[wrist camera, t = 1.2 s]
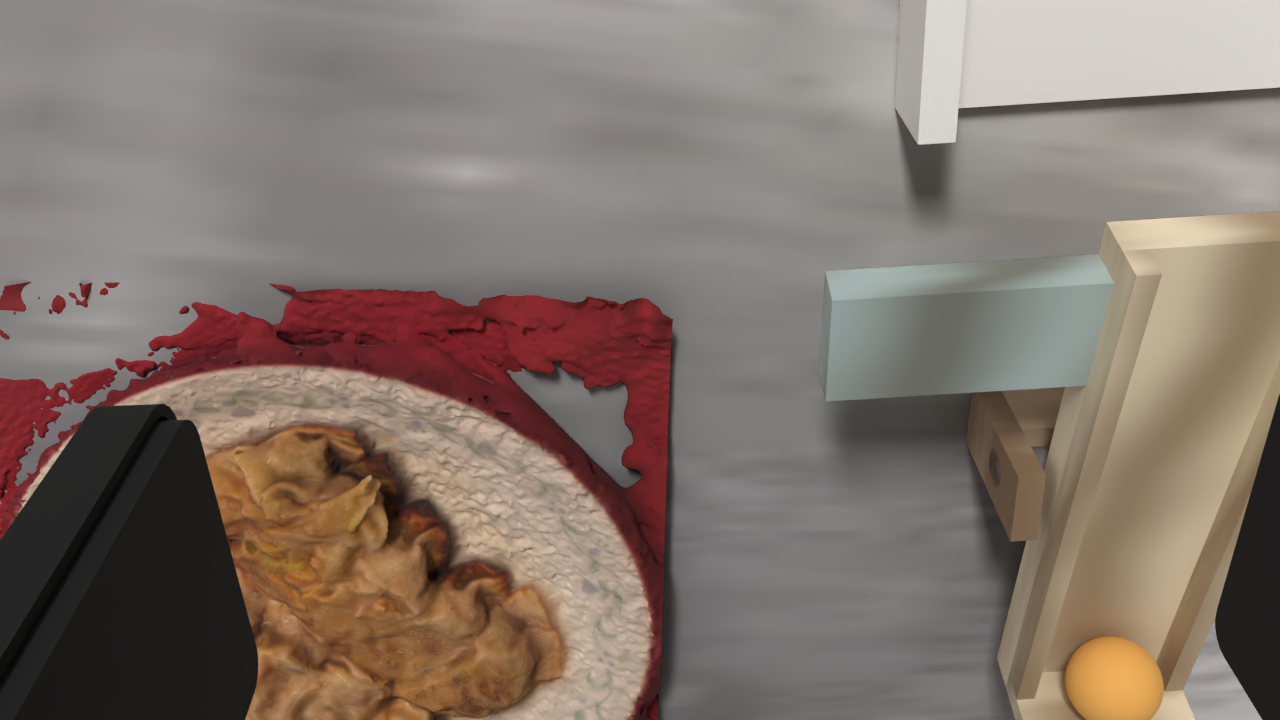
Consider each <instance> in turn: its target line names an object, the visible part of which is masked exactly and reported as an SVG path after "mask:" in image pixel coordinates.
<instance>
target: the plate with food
mask: <svg viewBox="0 0 1280 720" xmlns="http://www.w3.org/2000/svg"><path fill="white" fill-rule="evenodd" d="M29 283H31V282H27V283H22V284H16V285H10V286H5V289H4V291H3V295H2V296H1V299H0V310H13V311H22V312H24V311H25V310H26V306H25V304H24V303H23V301H22V298H21V291H22V289H23V287H24V286H25V285H27V284H29ZM118 284H119V283H105V285H106V286H107V287H109V288H115V287H117V285H118ZM79 285H80V288H81V296H82V297H84V296H85V299H84V300H83V301H82V302H81V301H79V300H78V299H77V297H76V295H75V294H74V293H69V295H70V296H71V297H72V298H75V299H76V300H77V301H76V304H77V305H82V306H84V307H87V306H88V304H87V298H88V295H89V293H90V289H91V285H92V283H89V284H87V285H83V286H82V285H81V283H80V284H79ZM270 285H272V286H274V287H276V288H278V289H281V290H284V291H288V292H290V293H291V294H293V297H292V299H291V300H290V301H289V302H288V303H287V305H286V307H285V311H284V317H283V319H282V321H281V323H280V324H278V325H271V324H270V323H269V322H267V321H265V320H263V319H260V318H255V317H252V316H249V315H247V314H246V313H244V312H240V313H239V314H238V316H237V315H235V314H233V313H231V312H228V311H226V310H224V309H222V308H220V307H217V306H215V305H207V304H201V303H198V302H195V303H193V304H192V307H193V308H194V309H195V311H196V312H197V314H198V318H197V319H196V320H195V321H194V322H193V323H192V324H191V325H189V326H188V327H187V328H186V329H185V330H184V331H183V332H182V333H179V334H176V335H172V336H159V337H156V338H154V339H153V340H152V341H150V343H149V346H150V348H151V350H152V351H157V350H158V349H159V348H160V347H165V348H169V347H171V348H175V347H179V348H182V350H180V351H179V348H178V349H177V348H176V349H177V350H178V351H179V352H178V353H176V352H172V353H173V356H174V357H175V358H176V359H173V357H172V358H171V360H170V362H171V363H173V364H172V365H168V364H167V363H166V362H161V363H160V364H159V365H157V364H156V363H155V362H154V361H147V360H143V361H133V362H127V361H124V360H122V359H119V358H117V359H116V361H115V362H116V364H117V367H118V369H119V370H121V369H122V368H123V367H126V368H127V369H128V370H129V371H131V372H135V373H136V374H137V375H138V376H141V377H143V376H145V374H146V373H148V372H150V371H152V370H155V369H157V368H159V367H161V366H162V368H161V369H160V371H155V372H154V373H152V375H151V376H150V377H148V378H146V379H143V380H140V379H132V380H130V384H129V386H128V388H127V389H125V390H124V391H118V390H111V391H109V393H108V395H107V400H106V401H104V402H100V403H99V404H98V405H97V406H86V408H88V409H90V411H89V413H90V412H91V411H92V410H93V409H94V408H96V407H100V406H120V405H147V404H165V405H167V406H169V407H170V408H171V409H172V411H173V412H174V414H175V415H176V418H177V420H190V421H192V422H193V423H194V425H195V426H196V427H197V430H198V433H199V436H200V439H201V443H202V447H203V450H204V454H205V458H206V461H207V465H208V469H209V472H210V476H211V480H212V484H213V487H214V491H215V495H216V498H217V502H218V506H219V509H220V513H221V517H222V521H223V524H224V528H225V532H226V535H227V539H228V543H229V547H230V550H231V554H232V558H233V561H234V565H235V569H236V572H237V576H238V580H239V584H240V587H241V591H242V595H243V598H244V602H245V606H246V609H247V613H248V617H249V621H250V624H251V628H252V632H253V635H254V639H255V643H256V647H257V652H258V678H257V685H256V689H255V692H254V696H253V698H252V701H251V704H250V707H249V710H248V713H247V716H246V719H245V720H658V695H659V691H660V673H661V651H662V624H663V593H664V542H665V515H666V485H667V452H668V416H669V390H670V361H671V340H672V322H673V320H672V319H671V318H669V317H668V316H665V315H663V314H662V312H661V310H660V309H659V307H658V306H655V305H654V304H652V303H651V302H650V301H649V300H647V299H643V298H640V299H636V300H630V301H628V302H626V303H624V304H619V303H617V302H613V301H607V300H604V299H595V298H591V297H586V299H585V300H584V301H582V302H577V303H572V302H566V301H561V300H556V299H548V298H544V297H540V296H531V295H525V296H506V295H500V296H496V297H491V298H484V299H482V300H481V301H479V305H478V306H463V305H461V304H459V303H457V302H456V301H454V300H452V299H447V298H443V297H440V296H439V295H437V294H436V293H435V291H429V292H414V291H406V292H402V291H397V290H394V291H388V290H382V289H379V290H373V289H371V290H347V291H344V290H342V289H333V290H315V291H306V292H296V290H295V289H294V288H293V287H290V286H284V285H275V284H270ZM100 294H101V295H106V294H108V290H107V289H106V288H103V289H102V290H101V291H100ZM39 298H40V297H39ZM39 298H38V300H39ZM65 305H66V303H65V300H64V298H62V297H61V296H59V295H57V296H56V297H55V298H54V300H53V303H52V310H53V311H54V312H57V314H59V313H61V312H62V311H63V309H64V308H65V307H66V306H65ZM52 310H51V309H49V313H50V314H52ZM187 311H188V307H186V306H184V307H183V308H182V309H181V310H180V312H179V313H186V312H187ZM13 314H16V313H15V312H14V313H13ZM485 319H492V321H490V322H488V323H485V322H484V320H485ZM470 328H472V329H470ZM449 330H450V331H451V332H453V333H456V334H450V333H449ZM0 335H1V336H2V337H3V338H8V336H7V335H6V334H5V333H3V332H2V330H0ZM153 354H154V352H150V353H149V354H148V356H152V355H153ZM553 361H558V362H560V363H561V367H562V368H563V370H564V371H566V372H568V373H572V374H575V375H579V376H580V377H582V378H583V379H584V387H585V388H586V389H591V388H594V387H596V386H602V387H608V386H610V385H614V384H616V383H618V382H622V383H624V384H625V386H626V388H627V392H628V401H627V405H626V408H625V411H624V420H625V425H626V426H627V427H628V428H629V429H630V430H631V432H632V436H633V444H632V445H630V446H628V447H627V448H626V449H625V450H624V452H623V455H622V465H623V466H624V467H627V468H630V469H635V470H638V471H639V472H640V473H641V474H642V478H641V479H640V480H639V481H638V482H636V483H635V484H633V485H632V486H630V487H629V488H624V487H621V486H620V485H618V484H617V483H615V482H614V480H613V479H612V478H611V477H610V476H609V475H608V474H607V473H606V472H605V471H604V470H603V469H602V468H601V467H600V466H599V465H598V464H597V463H596V462H594V461H593V460H592V459H591V458H590V457H589V456H588V455H587V454H586V453H585V452H584V450H583V449H582V448H581V447H580V446H579V445H578V444H577V443H576V442H575V441H574V440H573V439H572V438H571V437H570V436H569V435H568V434H567V433H566V432H565V431H564V430H563V429H562V428H561V427H560V426H559V425H558V424H557V423H556V422H555V421H554V420H553V419H552V418H551V417H550V416H549V415H548V414H547V413H546V412H545V411H544V410H543V409H542V408H541V407H540V406H539V405H538V404H537V403H536V402H535V401H533V400H532V399H531V398H530V397H529V396H528V395H527V394H526V393H525V392H524V391H523V390H522V389H521V388H520V387H519V386H518V385H517V384H516V383H515V382H514V381H513V380H512V379H511V377H510V374H509V373H507V370H511V371H513V372H517V371H522V370H521V368H527V369H528V370H530V371H534V372H541V373H543V374H551V373H553V372H554V371H555V367H554V365H553ZM116 374H117V371H114V370H111V369H110V368H107V369H104V370H101V371H98V372H92V373H87V374H84V375H82V376H80V377H78V379H74V380H71V381H70V383H71V384H73V386H72V387H71V388H69V389H68V388H67V387H66V385H65V384H64V383H57V384H56V385H55V386H54V388H53V389H48V388H47V387H46V385H45V383H44V382H43V381H41V380H39V379H29V380H10V379H1V378H0V501H1V502H2V504H1V505H0V540H1V538H2V537H3V536H4V534H5V533H6V531H7V530H8V528H9V527H10V525H11V524H12V523H13V521H14V520H15V518H16V517H17V515H18V514H19V513H20V511H21V510H22V508H23V507H24V505H25V504H26V503H27V501H28V500H29V498H30V497H31V495H32V494H33V492H34V491H35V490H36V488H37V487H38V485H39V484H40V482H41V481H42V480H43V478H44V477H45V475H46V474H47V472H48V471H49V469H50V468H51V467H52V465H53V464H54V462H55V461H56V459H57V458H58V457H59V455H60V454H61V452H62V451H63V449H64V448H65V446H66V445H67V444H68V442H69V441H70V439H71V438H72V436H73V435H74V434H75V432H76V431H77V429H78V428H79V426H80V425H81V423H82V422H80V423H78V424H77V425H72V426H71V428H72V429H70V430H67V431H66V432H63V431H62V432H60V433H59V434H58V438H60V442H59V443H57V444H54V445H52V446H51V447H49V448H47V449H46V450H45V451H44V452H43V453H42V454H41V456H40V459H39V461H38V466H37V471H36V472H35V473H34V474H32V475H31V474H30V473H28V474H27V475H28V476H29V478H28V479H27V480H25V481H24V482H23V483H22V484H20V485H19V486H18V487H17V486H16V485H15V482H14V481H16V480H17V478H16V473H17V472H19V471H20V470H21V466H22V463H20V462H19V458H21V457H22V456H23V457H24V456H25V455H27V454H28V452H26V451H25V448H26V447H28V446H32V445H33V444H34V441H33V440H32V438H33V437H34V436H35V435H34V432H35V431H34V430H33V428H35V429H36V430H38V436H39V437H40V438H43V437H45V433H46V432H48V431H49V429H48V428H47V424H48V423H50V422H52V421H53V422H55V421H56V419H58V417H59V416H60V415H61V413H60V412H56V411H53V410H51V409H50V408H54V407H55V406H56V407H59V406H60V407H61V406H63V404H65V403H69V404H72V403H71V401H72V399H74V400H73V401H74V402H76V403H83V402H84V401H85V400H86V399H89V398H90V397H91V396H92V395H93V394H95V393H96V391H97V390H100V389H104V390H105V389H106V388H105V387H103V385H105V386H106V387H110V383H111V382H112V381H114V380H115V378H114V375H116ZM108 379H109V380H108ZM60 389H63V390H65V391H67V393H68V395H69V400H68V401H65V398H64V397H60V396H59V394H58V392H59V390H60ZM47 396H50V397H51V399H50V400H46V399H45V398H46V397H47ZM41 408H43V409H41ZM89 413H88V414H89ZM88 414H87V415H88ZM87 415H86V416H87ZM85 418H86V417H85ZM32 422H35V423H36V424H33V423H32ZM55 423H56V422H55ZM29 451H31V449H29ZM26 459H27V458H26ZM17 467H19V468H18V469H16V468H17ZM19 482H20V481H19ZM5 489H6V490H7V491H8V493H5V492H4V491H5Z"/></svg>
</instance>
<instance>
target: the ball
mask: <svg viewBox="0 0 1280 720" xmlns="http://www.w3.org/2000/svg"><path fill="white" fill-rule="evenodd" d="M1065 684H1066V690H1067V693H1068V696H1069V699H1070V701H1071V703H1072V704H1073V706H1074V708H1075V709H1076V710H1077V711H1078V713H1079V714H1080V715H1081V716H1083V717H1084V718H1085V719H1086V720H1150V719H1151V718H1152V717H1153V716H1154V715H1155V714H1156V712H1157V711H1158V709H1159V707H1160V705H1161V702H1162V699H1163V693H1164V684H1163V678H1162V674H1161V671H1160V669H1159V667H1158V665H1157V663H1156V661H1155V660H1154V659H1153V657H1152V656H1151V655H1150V654H1149V653H1148V652H1147V651H1146V650H1145V649H1144V648H1142V647H1141V646H1140V645H1138V644H1136V643H1135V642H1133V641H1130V640H1128V639H1125V638H1121V637H1116V636H1104V637H1098V638H1095V639H1092V640H1090V641H1088V642H1086V643H1084V644H1083V645H1081V646H1080V647H1079V648H1078V649H1077V650H1076V651H1075V652H1074V653H1073V655H1072V656H1071V658H1070V660H1069V662H1068V665H1067V668H1066V673H1065Z"/></svg>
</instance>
